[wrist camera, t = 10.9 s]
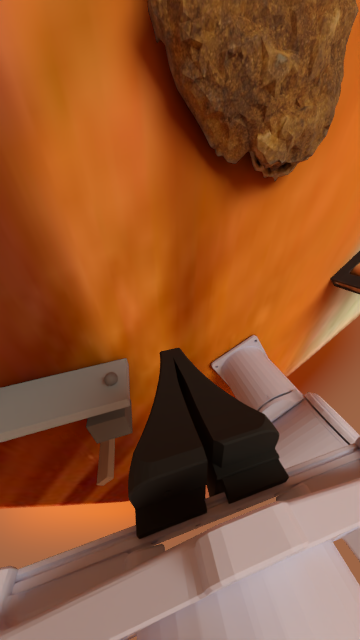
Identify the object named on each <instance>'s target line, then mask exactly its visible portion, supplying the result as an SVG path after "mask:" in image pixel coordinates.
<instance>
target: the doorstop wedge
mask: <svg viewBox="0 0 360 640" xmlns="http://www.w3.org/2000/svg"><path fill="white" fill-rule="evenodd" d="M86 428H87V429H88V431H89V432H90V434H91V435H92V437H93V438H94V440H95V441H96V442H97V443H101V442H104V441H107V440H111V439H114V438H117V437H120V436H124V435H127V434H130V433H132V411H131V400H130V406H128V407H125V408H121V409H118V410H114V411H110V412H107V413H103V414H100V415H96V416H93V417H89V418H88V419H87V425H86Z"/></svg>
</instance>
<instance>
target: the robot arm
mask: <svg viewBox="0 0 360 640" xmlns="http://www.w3.org/2000/svg"><path fill="white" fill-rule="evenodd" d="M211 366H212V368H213V369H214V370H215V371H216V372H217V373H218V374H219V375H220V377H221V378H222V379H223V380H224V381H225V382H226V383H227V384H228V385H229V387H230V388H231V390H232V392H233V393H234V395H235V397H236V398H234V397H232V396H231V395H229V394H228V393H226V392H225V391H223V390H222V389H221V388H219V387H218V386H217V385H215V384H214V383H213V382H212V381H210V380H209V379H208V378H207V377H206V376H205V375H204V374H202V373H201V372H200V371H199V370H198V369H197V368H196V367H195V366H194V365H193V364H192V362H191V361H190V360H189V359H188V358H187V357H186V356H185V354H184V353H183V352H182V350H181V349H180V348H175V349H170V350H166V351H161V352H160V374H159V381H158V386H157V391H156V395H155V399H154V403H153V406H152V409H151V412H150V415H149V418H148V421H147V423H146V426H145V428H144V431H143V433H142V436H141V438H140V440H139V442H138V444H137V446H136V449H135V451H134V453H133V457H132V461H131V466H130V471H129V480H128V493H129V500H130V502H131V503H132V505H133V506H134V508H135V513H136V525H135V526H132V527H129V528H127V529H124V530H121V531H119V532H116V533H113V534H111V535H108V536H105V537H103V538H100V539H98V540H95V541H92V542H90V543H87V544H84V545H82V546H79V547H76V548H74V549H71V550H68V551H65V552H63V553H60V554H57V555H55V556H52V557H50V558H47V559H44V560H41V561H39V562H36V563H33V564H31V565H28V566H26V567H23V568H20V569H17V568H15V567H12V566H8V567H2V568H0V640H129V639H131V638H133V637H135V636H137V640H360V586H359V584H358V583H357V581H356V579H355V578H354V576H353V574H352V573H351V571H350V570H349V568H348V566H347V565H346V563H345V561H344V560H343V558H342V557H341V555H340V553H339V552H338V550H337V549H336V547H335V545H334V544H333V542H334V541H336V540H338V539H340V538H342V539H343V540H344V541H345V542H346V544H347V545H348V546H349V548H350V549H351V550H352V552H353V553H354V554H355V556H356V557H357V558H358V560H359V561H360V435H359V434H358V433H357V432H356V431H355V430H354V429H353V428H352V427H351V426H350V425H349V424H348V423H347V422H346V421H345V420H344V419H343V418H342V417H340V415H339V414H338V413H337V412H336V411H335V410H334V409H333V408H332V407H330V406H329V405H328V404H327V403H326V402H325V401H324V400H323V399H322V398H321V397H320V396H319V395H318V394H314V393H310V392H307V393H306V394H305V395H303V394H302V393H301V392H299V391H298V389H297V388H296V387H295V386H294V385H293V384H292V383H291V382H290V381H289V380H288V379H287V378H286V376H285V375H284V374H283V373H282V372H281V371H280V370H279V369H278V368H277V367H276V366H275V365H274V364H273V363H272V362H271V360H270V359H269V358H268V357H267V355H266V353H265V351H264V349H263V347H262V345H261V343H260V342H259V340H258V338H257V336H256V335H253V336H251V337H249V338H248V339H246V340H245V341H243V342H242V343H241V344H239V345H238V346H236V347H235V348H233V349H232V350H230V351H229V352H227V353H226V354H224V355H223V356H221V357H220V358H218V359H217V360H215V361H214V362H212V363H211ZM215 366H216V367H215ZM206 485H207V488H208V492H209V496H210V497H209V498H207V499H205V487H206ZM278 495H279V496H278ZM276 496H277V497H276ZM273 497H276V502H273V503H270V504H268V505H266V506H263V507H260V508H258V509H255V510H253V511H250V512H248V513H246V514H243V515H241V516H238V517H236V518H233V519H231V520H229V521H226V522H223V523H221V524H219V525H216V526H214V527H212V528H210V529H208V530H207V531H205V532H203V533H201V534H199V535H197V536H195V537H193V538H191V539H189V540H187V541H185V542H183V543H181V544H179V545H177V546H175V547H172V548H171V549H168V550H167V551H165V548H164V545H163V544H160V545H156V544H159V543H161V542H164V541H166V540H169V539H171V538H174V537H176V536H179V535H181V534H184V533H186V532H188V531H191V530H193V529H196V528H198V527H201V526H203V525H206V524H208V523H211V522H213V521H216V520H218V519H221V518H223V517H226V516H228V515H231V514H233V513H236V512H238V511H241V510H243V509H246V508H248V507H251V506H253V505H256V504H258V503H261V502H263V501H266V500H268V499H271V498H273ZM154 545H156V546H154Z"/></svg>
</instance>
